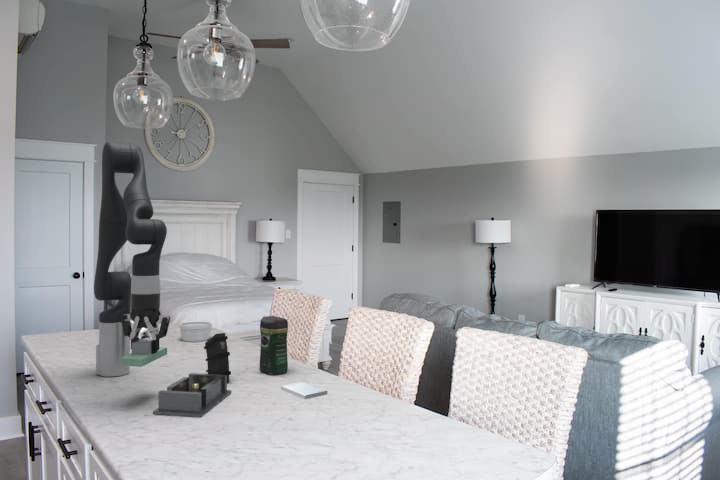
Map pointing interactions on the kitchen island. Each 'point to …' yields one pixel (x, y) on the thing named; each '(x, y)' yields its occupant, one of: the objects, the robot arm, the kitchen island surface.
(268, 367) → the coffee jar
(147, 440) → the kitchen island surface
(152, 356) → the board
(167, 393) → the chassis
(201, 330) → the ramekin
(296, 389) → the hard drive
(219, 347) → the magazine
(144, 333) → the white irregular lump
